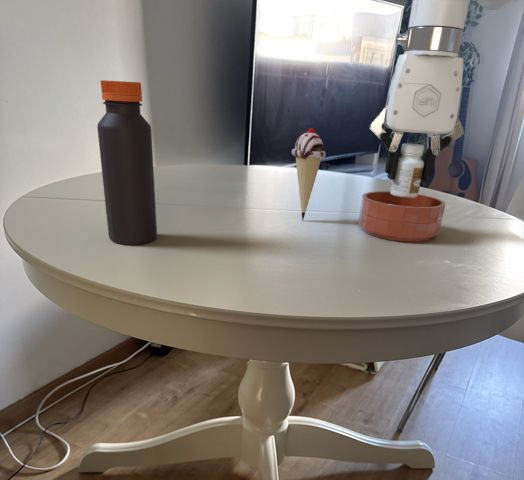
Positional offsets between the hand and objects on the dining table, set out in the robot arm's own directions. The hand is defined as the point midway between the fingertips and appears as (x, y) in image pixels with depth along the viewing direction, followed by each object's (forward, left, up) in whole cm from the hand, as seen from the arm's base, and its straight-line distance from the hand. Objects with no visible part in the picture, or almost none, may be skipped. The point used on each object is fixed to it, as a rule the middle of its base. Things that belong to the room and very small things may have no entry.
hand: (407, 178), depth 77 cm
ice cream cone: (+16, -4, -9) cm, 19 cm away
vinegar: (+41, +14, -9) cm, 44 cm away
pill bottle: (0, 0, -3) cm, 3 cm away
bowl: (0, 0, -9) cm, 9 cm away
